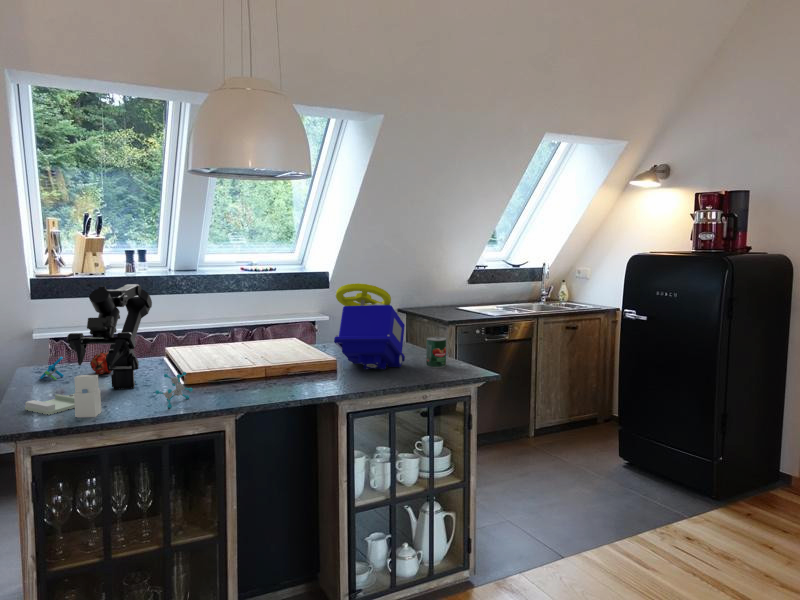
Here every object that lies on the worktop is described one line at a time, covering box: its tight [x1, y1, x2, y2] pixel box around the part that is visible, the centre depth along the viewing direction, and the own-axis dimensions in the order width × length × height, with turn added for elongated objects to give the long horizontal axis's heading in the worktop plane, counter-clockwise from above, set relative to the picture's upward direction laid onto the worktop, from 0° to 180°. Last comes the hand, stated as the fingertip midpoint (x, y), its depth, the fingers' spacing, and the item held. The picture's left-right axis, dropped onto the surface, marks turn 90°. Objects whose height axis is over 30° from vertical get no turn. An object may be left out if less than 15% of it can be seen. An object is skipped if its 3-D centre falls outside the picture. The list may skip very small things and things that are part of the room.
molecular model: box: [154, 371, 194, 409], centre depth 190 cm, size 12×14×15 cm
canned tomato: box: [425, 336, 447, 369], centre depth 242 cm, size 8×8×11 cm
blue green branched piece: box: [39, 356, 65, 381], centre depth 219 cm, size 11×6×10 cm
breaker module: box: [73, 374, 102, 418], centre depth 176 cm, size 5×6×12 cm
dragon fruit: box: [89, 351, 113, 376], centre depth 226 cm, size 8×8×12 cm
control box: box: [333, 282, 406, 371], centre depth 239 cm, size 26×27×30 cm
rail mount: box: [24, 393, 75, 416], centre depth 186 cm, size 16×11×2 cm
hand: (95, 364), depth 182 cm, fingers open, 9 cm apart
